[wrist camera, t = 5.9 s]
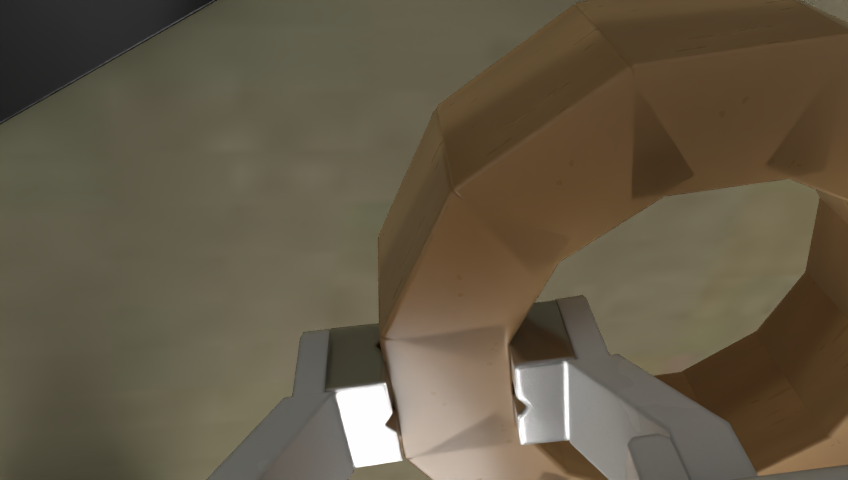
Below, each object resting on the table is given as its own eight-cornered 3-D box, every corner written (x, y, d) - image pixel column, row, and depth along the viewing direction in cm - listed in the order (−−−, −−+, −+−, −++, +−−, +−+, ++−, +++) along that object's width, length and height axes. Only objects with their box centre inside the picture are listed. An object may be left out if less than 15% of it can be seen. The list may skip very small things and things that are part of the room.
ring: (886, -160, 11) (1048, -140, 8) (954, 332, 16) (1064, 437, 13) (267, 162, 13) (241, 257, 10) (510, 499, 18) (533, 617, 16)
